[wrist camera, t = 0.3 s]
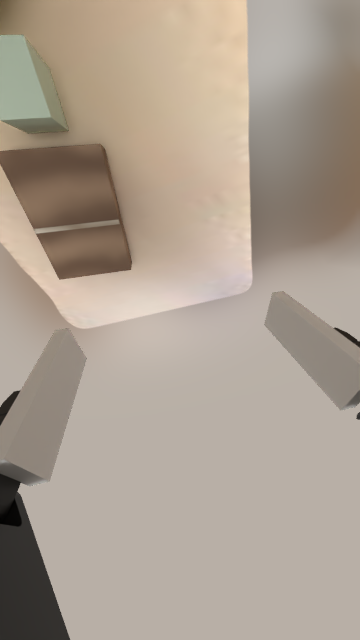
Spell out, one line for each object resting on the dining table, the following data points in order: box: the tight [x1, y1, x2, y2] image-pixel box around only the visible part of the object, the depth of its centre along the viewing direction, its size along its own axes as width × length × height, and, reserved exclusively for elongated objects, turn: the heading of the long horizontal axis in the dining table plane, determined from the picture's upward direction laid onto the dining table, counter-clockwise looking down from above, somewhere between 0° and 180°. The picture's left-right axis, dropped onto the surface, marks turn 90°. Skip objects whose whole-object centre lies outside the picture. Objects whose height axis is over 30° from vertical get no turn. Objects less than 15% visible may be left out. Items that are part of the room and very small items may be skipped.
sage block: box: [0, 35, 69, 133], centre depth 20 cm, size 5×5×6 cm
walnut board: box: [0, 144, 132, 280], centre depth 28 cm, size 16×12×4 cm
